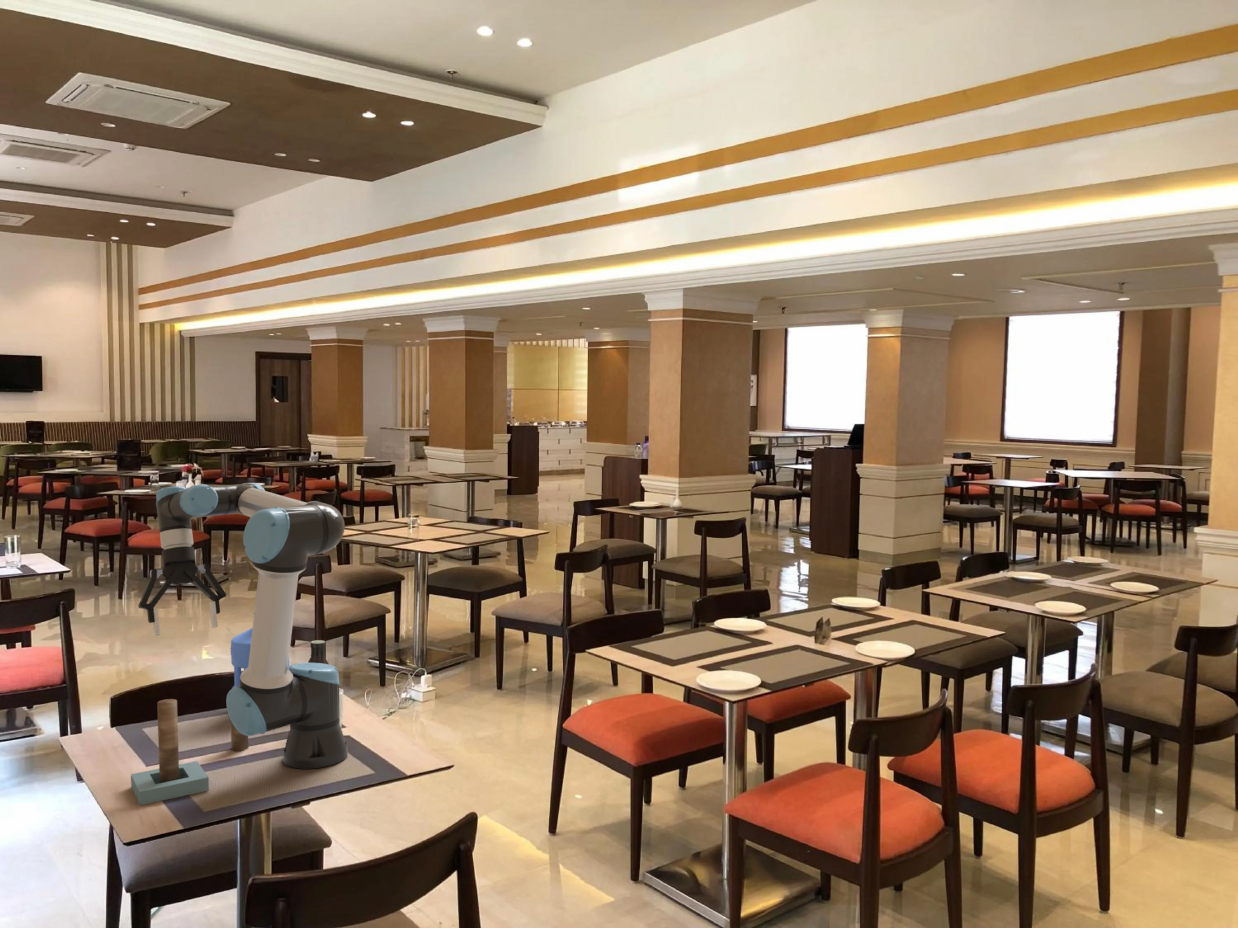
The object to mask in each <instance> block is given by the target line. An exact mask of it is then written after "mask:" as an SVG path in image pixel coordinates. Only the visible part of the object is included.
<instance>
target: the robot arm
mask: <svg viewBox="0 0 1238 928" xmlns="http://www.w3.org/2000/svg"><path fill="white" fill-rule="evenodd" d="M155 497H156V502H155V506H156V507H155V508H156V513H157V518H158V519H157V521H158V528H159V538H160V548H161V549H163V550H162V551H161V560H162V569H157V568H153V569H151V570H149V579H148V582H147V584H146V586H145V589H144V591H143V593H142V596H141V598H140V599H139V600H140V601H139V603H138V605H137V606H138V608H139V609H141V610H142V609H143V610H145V611H146V613H147V614H146V615H147V621H148V623H149V624H152V627H153V635H154V636H153V637H159V636H161V631H160V623H159V610H158V608H155V607H156V605H157V604H158V603H159V601H160V600H161V598H162V597H163V596H164V594H165V593H166V591H168V589H169V587H170V586H171V585H173V586H178V585H187V584H188V585H189V584H192V585H194V586H195V587H196V588H197V589H198V590H199V591H200V592H201V593H203V595H205V597H207V598H208V599H210V600H211V601H210V602H208V605H209V614H210V623H211V629H212V628H213V629H215V628H218V627H219V625H218V624H219V623H218V618H217V617H218V616H217V615H218V614H221V608H220V607H221V606H220V605H221V604H220V601H221V599H224V598H226V597H227V593H226V591H225V590H224V588H223V587H222V586H221V584H220V583H219V582H218V580H217V578H216V576H215V575H214V574H213V572H212V571H211V567H210V566H211V565H210V564H209V563H204V564H201V565H197V564H196V563H197V562H196V553H195V547H193V545H194V537H193V527H192V520H194V519H197V518H203V517H204V518H205V517H212V516H213V517H214V516H215V517H217V516H223V515H224V516H225V515H236V514H238V515H242V516H245V517H249V519H248V520H247V523H246V525H245V527H244V531H243V542H242V543H243V546H244V547H245V548H244V551H245V554H246V556H247V559H249V560H250V561H251V562H252V564H251V565H252V566H253V568H254V569H255V570H256V571H257V572H258V575H257V583H256V591H255V592H256V595H255V603H254V610H253V611H254V612H253V613H254V614H253V621H252V628H253V629H252V638H251V647H250V656H249V665H248V668H247V669H245V670H244V669H243V671H241V675H240V683H239V687H234V688H233V687H232V688H233V689H232V688H231V689H230V690H229V691H228V692H227V694H226V702H225V703H226V709H227V714H228V716H229V720H230V723H231V722H232V724H233V725H234V727H235V728H236V729H237V730H238V731H239V732H240V733H241V734H243V735H246V736H248V737H252V736H257V735H259V734H260V735H263V734H265V733H267V732H270V731H275V730H277V729H280V728H284V727H288V726H289V732H288V735H287V738H286V741H285V747H284V748H283V751H282V760H283V761H282V762H283V764H284V765H285V766H287V767H289V768H294V769H300V770H301V769H302V770H303V769H304V770H306V769H320V768H324V767H329V766H334V765H335V764H339V763H341V762H342V761H344V760H346V758H347V757H348V753H349V751H348V743H347V741H346V740H345V736H344V734H343V729H342V727H340V711H339V688H340V685H341V684H340V677H339V676H340V675H339V671H338V668H337V667H336V666H334V665H332V664H329V663H328V664H329V665H328V664H323V663H308V662H299V663H297V662H296V663H294V664H291V665H289V670H288V669H287V668H288V660H289V661H290V650H291V644H292V643H291V641H292V633H293V627H294V626H293V625H294V624H293V623H294V616H295V608H296V598H297V590H298V581H299V575H300V574H302V572H304V571H305V570H306V569H307V566H308V565H307V564H308V557H309V556H313V555H314V556H316V555H320V554H325V553H327V552H330V550H333V549H334V548H335V547H337V545H338V544H339V543H340V542H341V540H342V538H343V537H344V533H345V527H346V526H345V520H344V518H343V517H344V516H343V515H342V514H341V512H340V511H339V509H338V508H336V507H335V506H333V505H332V504H328V503H324V502H322V501H321V502H320V501H317V500H313V501H309V502H305V501H302V500H299V499H295V498H290V497H288V496H284V495H280V494H277V493H274V492H270V491H266V490H265V488H264V487H263V486H262V485H261V484H259V483H251V482H250V483H249V482H244V483H238V484H228V485H225V484H224V485H210V486H209V485H208V484H204V483H200V484H196V485H191V486H189V487H185V486H180V485H179V486H177V485H176V486H175V485H174V486H168V487H167V486H166V487H163V488H160V489H158V490H157V491H156V495H155ZM198 571H199V572H200V573H201V574H203V575H204V577H205V579H206V580H207V582H208V583H209V584H210V586H211V587H212V589H213V590H212V589H211V588H209V587H208V585H206V584H205V583H204V582H203V581H202V580H200V578H199V577H198V576H197V575H196V574H197V573H198ZM161 575H162V576H163V577H164V578H165V581H164V582H163V583H162V585H161V587H160V588H159V590H158V591H157V592H156V593H155V595H154V596H153V598H152V599H151V600H150V602H149V603H148V600H149V599H150V596H151V594H152V591H153V589H154V587H155V585H156V582H157V579H159V578H160V576H161Z"/></svg>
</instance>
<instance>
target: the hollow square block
mask: <svg viewBox="0 0 1238 928" xmlns="http://www.w3.org/2000/svg"><path fill="white" fill-rule="evenodd" d="M209 778H210V777H209V776H208V774H207V773H206V772H205V770H204V769H203V767H202V766H201V765H200V762H198V760H195V761H190V762H185V763H181V764H180V763H179V780H174V781H169V782H164V783H160V774H159V768H155V769H150V770H146V771H141V772H135V773H130V785H131V786H130V787H131V790H132V792H133V793H134V796H135V798H136V800H137V802H138V805H139V806H143V805H148V804H153V803H157V802H163V801H166V800H170V799H175V798H181V797H185V796H189V795H194V794H198V793H203V792H207V791H209V790H210V787H209V785H210V783H209Z"/></svg>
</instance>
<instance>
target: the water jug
mask: <svg viewBox="0 0 1238 928" xmlns="http://www.w3.org/2000/svg"><path fill="white" fill-rule="evenodd" d="M253 615H254V612H253ZM252 629H253V627H251V628H249V629H246V630H245V631H243V632H242V633H239V634H238V635H235V636H234V637H232V639H231V640H230V656H231V657H230V658H231V659H230V660H231V661H230V662H231V665H232V666H233V672H234V673H233V674H234V676H233V679H234V681H233V682H234V685H233V686H232V687H231V689H233V688H234V687H239V683H240V675H241V673H242V669H243V671H244V670H245V669H247V668H248V665H249V656H250V647H251V638H252ZM289 667H290V659H289V660H288V668H287V669H288V670H289Z"/></svg>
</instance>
